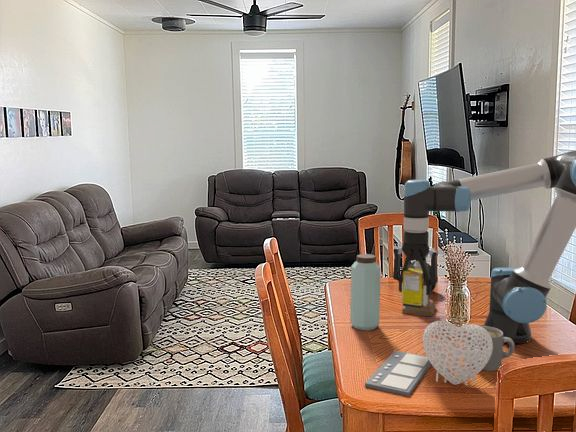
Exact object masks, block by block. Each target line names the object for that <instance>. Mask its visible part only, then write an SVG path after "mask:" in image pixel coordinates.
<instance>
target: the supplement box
mask: <svg viewBox="0 0 576 432" xmlns="http://www.w3.org/2000/svg"><path fill="white" fill-rule="evenodd" d="M424 284H426V282H425V279H424V275H423V272H422V269H413V268H409V269H408V270H406V271H404V272H403V303H402V307H404V306H410V307H417V308H422V307H423V286H424Z"/></svg>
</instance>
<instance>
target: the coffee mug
mask: <svg viewBox="0 0 576 432" xmlns="http://www.w3.org/2000/svg"><path fill="white" fill-rule="evenodd" d="M480 326H481V327H483V328H484V329H486V330H487V331H488V333H489V334H490V336H491V338H492V343H493V349H492V354H491V357H490V359H489V361H488V362H487V364H486V365H485V367H484V368H483V369H482V370H483V371H484V372H493V371H494V372H495V371H498V369H499V367H500V366H501V367H502V360H503V359H506V358H508V357H510V356H513V354H514V351H515V344H514V342H513V340H512V339H511V338H508V337H503V332H502V331H501V330H499V329H497V328H493V327H489V326H483V325H480ZM468 329H469V328H468ZM475 330H476V329H475ZM479 331H480V330H479ZM469 334H470V335H472V333H469ZM476 334H478V333H477V332H476ZM481 335H482V334H481ZM483 336H484V335H483ZM475 337H476V336H474V337H473V338H475ZM479 338H480V336H479ZM481 338H482V337H481ZM475 339H476V338H475ZM467 340H471V337H468V338H467ZM488 340H489V339H488ZM473 341H474V340H472V342H473ZM483 341H485V340H484V339H483ZM505 342H508V343H509V344H508V346H509V347H508V350H507V351H504V349H503V346H504V344H506V343H505ZM478 343H479V340H478ZM473 344H474V343H473ZM486 344H487V341H486ZM469 345H470V342H469ZM482 345H483V346H484V345H485V344H484V343H483V344H482ZM475 346H476V344H475ZM472 347H474V346H473V345H472ZM479 347H480V345H479ZM486 347H487V348H488V346H486ZM466 348H468V347H466ZM489 348H490V347H489ZM476 349H477V348H476ZM471 350H473V349H471ZM482 350H483V348H481V351H482ZM479 354H480V353H479ZM481 354H482V353H481ZM487 355H488V354H487ZM487 355H486V356H487ZM477 356H478V354H477ZM478 358H479V357H478ZM483 358H484V357H483ZM466 359H467V358H466ZM479 362H480V361H478V363H479ZM482 362H483V361H482ZM482 362H481V363H482ZM467 363H468V362H467ZM473 365H474V363H473V364H472V365H471V366H473ZM474 368H475V367H474ZM474 368H473V369H474ZM482 370H481V371H482ZM499 370H500V369H499ZM483 371H482V372H483Z"/></svg>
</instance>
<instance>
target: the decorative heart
mask: <svg viewBox="0 0 576 432" xmlns="http://www.w3.org/2000/svg"><path fill="white" fill-rule="evenodd" d="M481 326H482V325H478V324H474V323H473V324H465V325H461V326H457V325H455V324H453V323H451V322H449V321H445V320H435V321H433V322H430V323H429V324H428V325H427V326H426V327H425V329H424V331H423V335H422V345H423V350H424V353H425V356H427V357H428V359H429V361H430V363H431V366H432V368H434V369H435V370H436V372H435V374H436V375H435V383H438V382H439V375H441V376H442V377H443V382H444V383H445V384H447V381H448V382H449V383H450V384H452V385H454V386H457V385H460V384H462V383H464V386H465V385H467V386H468V381H469V380H470V379H472V380H471V382H472V383H471V386H472V385H474V386H475V379H476V378H475V377H476V376H477V375H478V374H479V373H480V372H481V371H482V369H483V368H484V367H485V365H486V364H487V362H488V361H489V359H490V357H491V354H492V349H493V343H492V338H491V336H490V334H489V333H488V331H487V330H486V329H484V328H483V327H481ZM468 328H469V329H468ZM475 329H476V330H475ZM479 330H480V331H479ZM476 332H477V333H478V334H476ZM469 333H472V335H470V334H469ZM481 334H482V335H481ZM483 335H484V336H483ZM436 336H437V337H436ZM474 336H476V337H475V338H476V339H475V338H473V337H474ZM479 336H480V338H479ZM468 337H471V340H467V338H468ZM481 337H482V338H481ZM483 339H484V340H485V341H483ZM488 339H489V340H488ZM472 340H474V341H473V342H472ZM478 340H479V343H478ZM486 341H487V344H486ZM469 342H470V345H469ZM473 343H474V344H473ZM483 343H484V344H485V345H484V346H483V345H482V344H483ZM452 344H453V345H452ZM475 344H476V346H475ZM458 345H459V346H458ZM472 345H473V346H474V347H472ZM479 345H480V347H479ZM486 346H488V348H487V347H486ZM466 347H468V348H466ZM489 347H490V348H489ZM476 348H477V349H476ZM481 348H483V350H482V351H481ZM471 349H473V350H471ZM479 353H480V354H479ZM481 353H482V354H481ZM477 354H478V356H477ZM487 354H488V355H487ZM449 355H450V356H449ZM486 355H487V356H486ZM478 357H479V358H478ZM483 357H484V358H483ZM466 358H467V359H466ZM478 361H480V362H479V363H478ZM482 361H483V362H482ZM467 362H468V363H467ZM481 362H482V363H481ZM473 363H474V365H473V366H471V365H472V364H473ZM468 365H469V366H468ZM474 367H475V369H474Z"/></svg>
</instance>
